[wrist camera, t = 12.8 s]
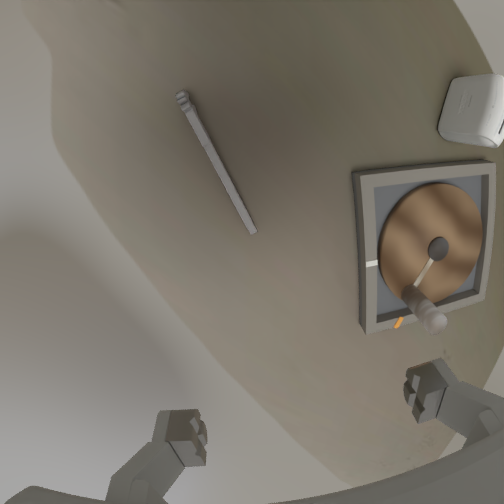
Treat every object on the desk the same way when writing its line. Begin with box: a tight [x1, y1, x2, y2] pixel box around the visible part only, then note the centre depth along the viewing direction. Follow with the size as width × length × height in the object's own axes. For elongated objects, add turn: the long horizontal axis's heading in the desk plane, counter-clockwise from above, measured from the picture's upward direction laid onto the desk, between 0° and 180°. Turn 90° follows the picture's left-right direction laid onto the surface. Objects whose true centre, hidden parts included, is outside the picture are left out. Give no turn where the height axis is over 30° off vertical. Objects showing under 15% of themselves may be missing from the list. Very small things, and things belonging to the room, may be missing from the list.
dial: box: [377, 182, 483, 335], centre depth 39 cm, size 19×19×11 cm
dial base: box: [352, 160, 496, 335], centre depth 43 cm, size 24×24×3 cm
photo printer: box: [438, 74, 504, 148], centre depth 32 cm, size 10×4×12 cm, turn 160°
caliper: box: [175, 90, 258, 234], centre depth 37 cm, size 20×1×6 cm, turn 25°
